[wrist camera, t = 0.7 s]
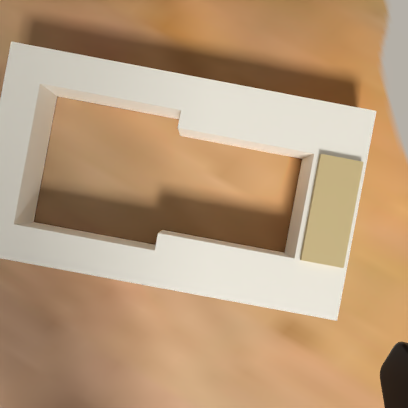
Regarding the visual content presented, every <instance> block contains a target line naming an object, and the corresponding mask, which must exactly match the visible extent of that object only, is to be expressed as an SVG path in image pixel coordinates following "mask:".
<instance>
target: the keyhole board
mask: <svg viewBox="0 0 408 408" xmlns="http://www.w3.org/2000/svg"><path fill="white" fill-rule="evenodd" d="M57 96H58V97H64V98H69V99H74V100H80V101H85V102H90V103H95V104H101V105H106V106H111V107H117V108H122V109H127V110H132V111H138V112H143V113H148V114H153V115H159V116H164V117H169V118H175V119H179V124H178V130H179V134H180V136H184V137H189V138H194V139H200V140H205V141H210V142H216V143H221V144H226V145H231V146H237V147H242V148H247V149H253V150H258V151H263V152H268V153H274V154H279V155H284V156H290V157H295V158H300V159H302V162H301V168H300V173H299V178H298V184H297V189H296V194H295V200H294V205H293V210H292V216H291V221H290V226H289V232H288V237H287V242H286V247H285V253H284V252H279V251H273V250H268V249H263V248H257V247H252V246H246V245H241V244H236V243H230V242H225V241H220V240H214V239H209V238H204V237H198V236H193V235H188V234H182V233H177V232H171V231H166V230H162V231H160V232H159V233H158V236H157V241H156V245H154V244H149V243H143V242H138V241H133V240H127V239H122V238H117V237H111V236H106V235H100V234H95V233H90V232H84V231H79V230H74V229H68V228H63V227H58V226H52V225H47V224H41V223H36V222H34V218H35V212H36V207H37V202H38V196H39V191H40V186H41V180H42V175H43V170H44V164H45V159H46V154H47V148H48V143H49V138H50V132H51V127H52V122H53V116H54V111H55V106H56V100H57ZM375 115H376V111H373V110H368V109H363V108H358V107H352V106H347V105H342V104H337V103H331V102H326V101H321V100H316V99H311V98H305V97H300V96H295V95H290V94H284V93H279V92H274V91H269V90H263V89H258V88H253V87H248V86H242V85H237V84H232V83H227V82H221V81H216V80H211V79H206V78H200V77H195V76H190V75H185V74H179V73H174V72H169V71H164V70H158V69H153V68H148V67H143V66H138V65H132V64H127V63H122V62H117V61H111V60H106V59H101V58H96V57H90V56H85V55H80V54H75V53H69V52H64V51H59V50H54V49H48V48H43V47H38V46H33V45H27V44H22V43H17V42H12V41H11V45H10V51H9V56H8V61H7V67H6V72H5V77H4V83H3V88H2V93H1V99H0V258H1V259H7V260H12V261H18V262H23V263H28V264H34V265H39V266H45V267H50V268H55V269H61V270H66V271H72V272H77V273H82V274H88V275H93V276H99V277H104V278H109V279H115V280H120V281H126V282H131V283H136V284H142V285H147V286H153V287H158V288H163V289H169V290H174V291H180V292H185V293H190V294H196V295H201V296H207V297H212V298H217V299H223V300H228V301H234V302H239V303H244V304H250V305H255V306H261V307H266V308H271V309H277V310H282V311H288V312H293V313H298V314H304V315H309V316H315V317H320V318H325V319H331V320H336V321H337V318H338V313H339V307H340V302H341V297H342V291H343V286H344V281H345V275H346V270H347V265H348V259H349V254H350V249H351V243H352V238H353V233H354V227H355V222H356V217H357V211H358V206H359V201H360V195H361V190H362V185H363V179H364V174H365V169H366V163H367V158H368V153H369V147H370V142H371V137H372V131H373V126H374V121H375Z"/></svg>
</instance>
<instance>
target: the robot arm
mask: <svg viewBox="0 0 408 408" xmlns="http://www.w3.org/2000/svg"><path fill="white" fill-rule="evenodd" d="M380 380H381V387H382V393H383V399H384V406H385V408H408V343H405V342H398V343H397V344H395V346H394V347H393V349H392V350H391V352H390V354H389V355H388V357H387V358H386V360H385V362H384V363H383V365H382V367H381V370H380Z"/></svg>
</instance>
